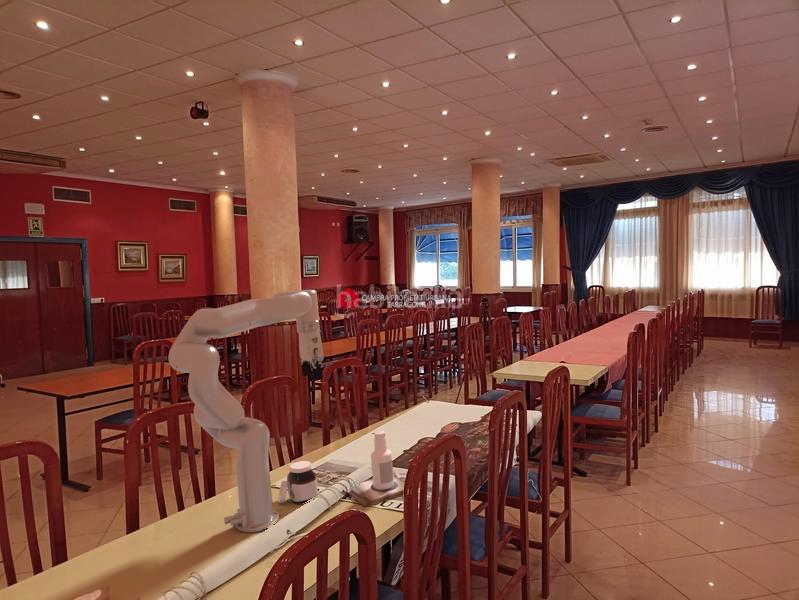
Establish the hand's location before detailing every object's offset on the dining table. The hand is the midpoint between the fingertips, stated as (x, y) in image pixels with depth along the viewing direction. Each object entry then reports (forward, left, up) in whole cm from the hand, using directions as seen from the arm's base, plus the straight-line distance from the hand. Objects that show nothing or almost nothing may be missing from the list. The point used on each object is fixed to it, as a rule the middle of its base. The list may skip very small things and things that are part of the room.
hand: (312, 377), depth 181 cm
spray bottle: (+16, -15, -37) cm, 43 cm away
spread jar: (-10, -3, -39) cm, 40 cm away
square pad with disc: (+14, -14, -38) cm, 43 cm away
